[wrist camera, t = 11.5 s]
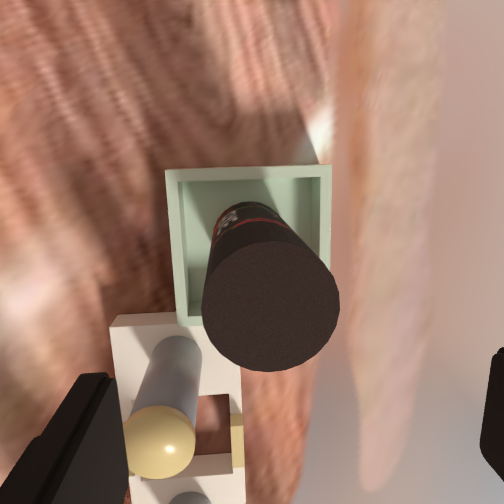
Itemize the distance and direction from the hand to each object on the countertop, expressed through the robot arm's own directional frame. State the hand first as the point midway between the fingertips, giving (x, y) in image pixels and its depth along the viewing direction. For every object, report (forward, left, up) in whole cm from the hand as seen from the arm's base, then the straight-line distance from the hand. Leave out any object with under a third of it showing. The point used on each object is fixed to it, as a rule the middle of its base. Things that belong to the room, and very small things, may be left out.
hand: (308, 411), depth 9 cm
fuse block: (+17, -6, -23) cm, 29 cm away
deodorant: (0, 0, -22) cm, 22 cm away
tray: (0, 0, -23) cm, 23 cm away
